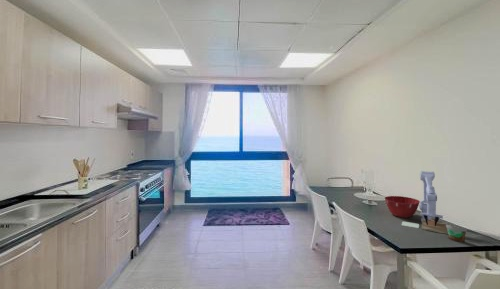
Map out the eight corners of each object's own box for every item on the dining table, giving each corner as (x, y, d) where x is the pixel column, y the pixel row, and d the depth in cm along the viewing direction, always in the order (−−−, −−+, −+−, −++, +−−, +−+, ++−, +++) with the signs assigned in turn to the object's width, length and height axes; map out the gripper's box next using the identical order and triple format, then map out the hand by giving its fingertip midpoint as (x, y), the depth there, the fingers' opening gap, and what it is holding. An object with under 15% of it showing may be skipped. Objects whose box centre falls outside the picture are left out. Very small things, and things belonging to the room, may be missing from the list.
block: (427, 226, 202) (427, 219, 202) (434, 227, 200) (434, 220, 200) (427, 227, 199) (427, 220, 199) (434, 228, 196) (434, 221, 196)
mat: (402, 221, 216) (402, 221, 216) (419, 224, 209) (419, 224, 209) (401, 225, 206) (401, 225, 206) (418, 228, 199) (418, 228, 199)
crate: (422, 224, 208) (422, 220, 208) (449, 229, 198) (449, 224, 197) (421, 229, 197) (421, 224, 197) (451, 234, 187) (451, 229, 187)
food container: (441, 237, 181) (442, 223, 181) (447, 236, 183) (447, 222, 183) (461, 244, 169) (461, 229, 169) (466, 242, 171) (467, 228, 171)
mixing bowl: (418, 222, 214) (419, 204, 214) (381, 216, 232) (382, 199, 231) (420, 214, 237) (420, 198, 237) (386, 209, 254) (387, 194, 254)
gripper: (420, 208, 200) (420, 225, 200) (443, 211, 191) (442, 228, 192) (420, 206, 206) (420, 222, 206) (442, 209, 197) (442, 226, 197)
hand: (431, 225), depth 199 cm, fingers closed on block, 4 cm apart
